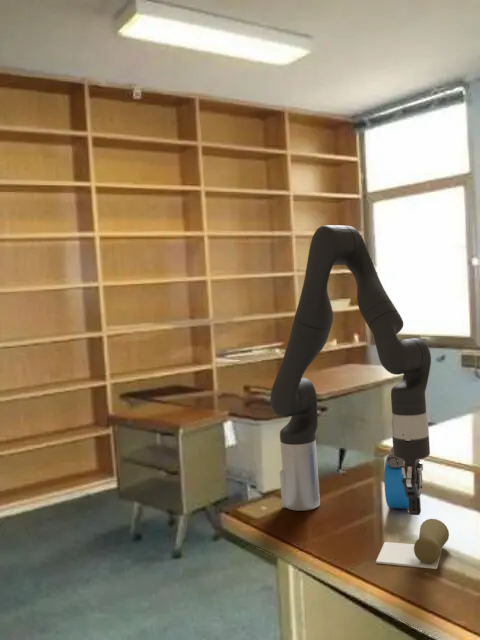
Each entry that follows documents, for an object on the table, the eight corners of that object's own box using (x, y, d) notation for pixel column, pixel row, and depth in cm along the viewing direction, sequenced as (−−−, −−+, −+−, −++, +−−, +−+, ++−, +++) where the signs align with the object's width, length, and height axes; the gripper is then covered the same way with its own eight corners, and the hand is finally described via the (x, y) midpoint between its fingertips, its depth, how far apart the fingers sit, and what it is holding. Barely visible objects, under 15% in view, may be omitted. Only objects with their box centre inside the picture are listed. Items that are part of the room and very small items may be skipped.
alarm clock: (411, 517, 156) (407, 456, 156) (385, 516, 159) (381, 455, 158) (416, 499, 169) (413, 442, 168) (392, 498, 171) (388, 441, 170)
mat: (376, 563, 133) (376, 561, 133) (384, 543, 142) (384, 541, 142) (436, 569, 129) (436, 567, 129) (441, 548, 138) (441, 546, 138)
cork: (424, 547, 140) (414, 569, 130) (416, 520, 140) (406, 540, 131) (452, 545, 138) (445, 567, 128) (444, 517, 138) (437, 537, 128)
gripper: (397, 426, 145) (402, 502, 146) (386, 440, 133) (392, 524, 134) (432, 426, 142) (436, 504, 143) (424, 441, 130) (430, 526, 131)
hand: (415, 513), depth 138 cm, fingers closed
